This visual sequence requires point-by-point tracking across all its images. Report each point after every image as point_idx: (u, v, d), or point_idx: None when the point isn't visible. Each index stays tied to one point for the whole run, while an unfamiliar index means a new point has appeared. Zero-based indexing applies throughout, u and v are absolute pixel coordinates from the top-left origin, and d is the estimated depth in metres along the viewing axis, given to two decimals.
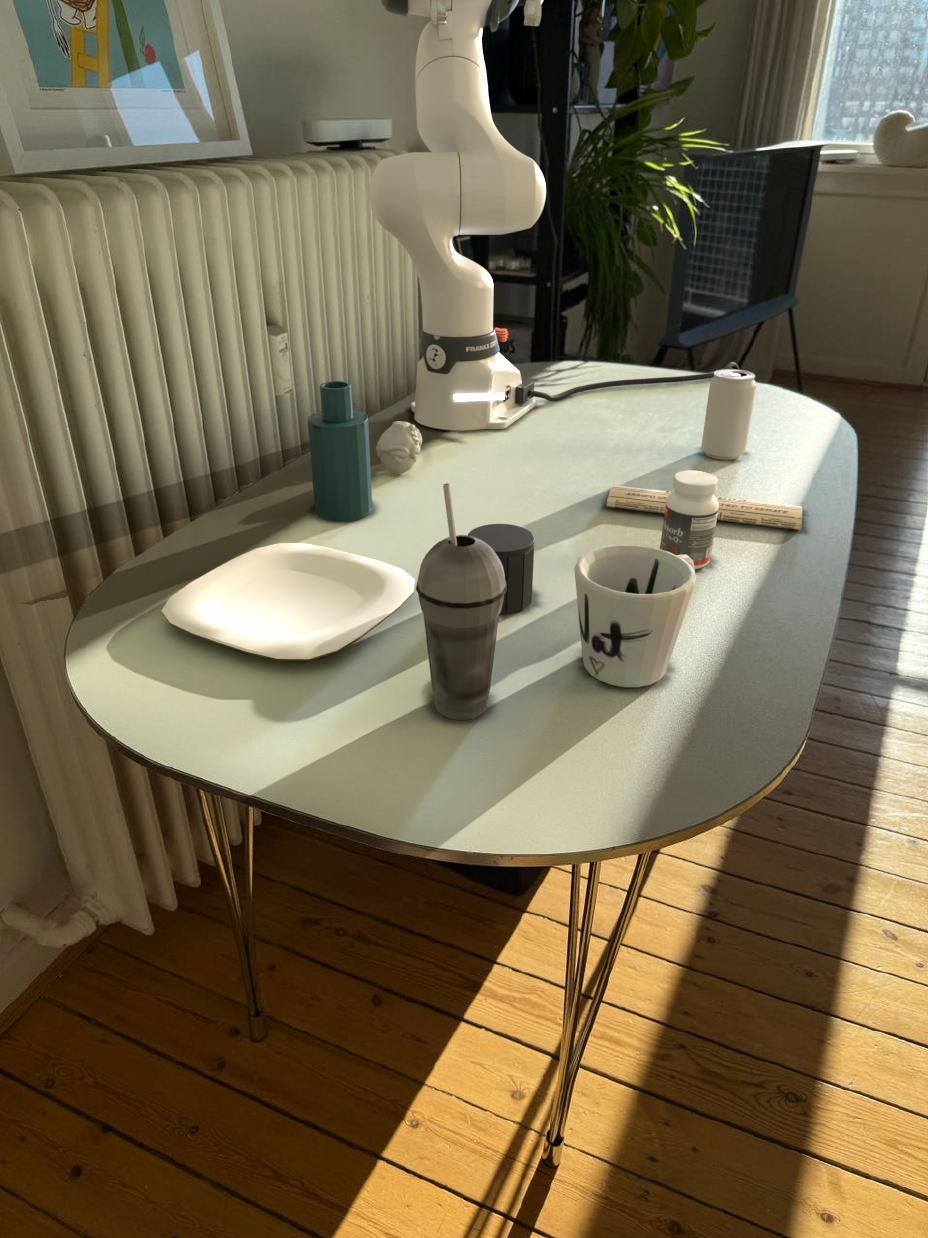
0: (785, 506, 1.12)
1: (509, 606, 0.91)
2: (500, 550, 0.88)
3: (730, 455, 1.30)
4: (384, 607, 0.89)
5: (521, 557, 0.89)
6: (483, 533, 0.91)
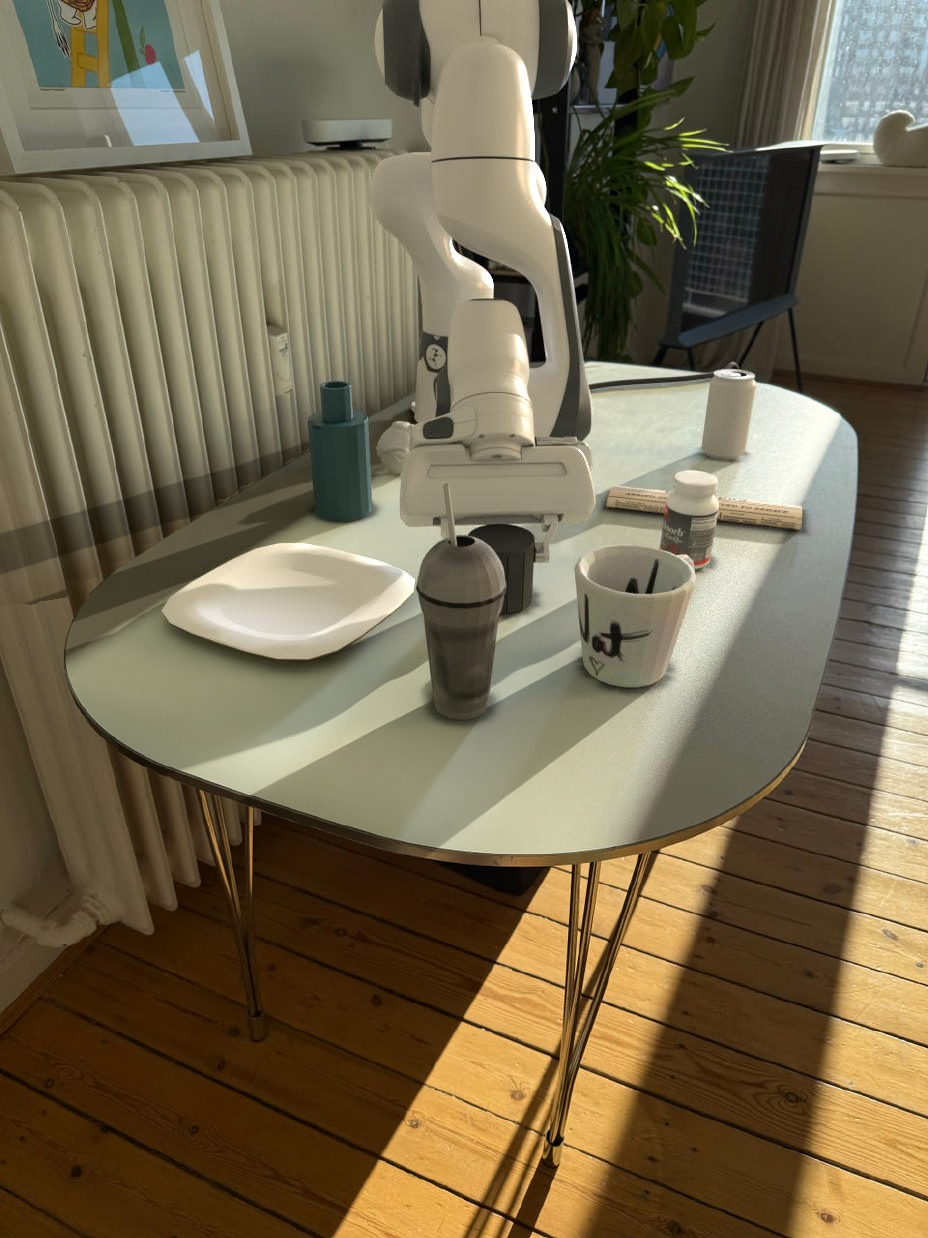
0: (785, 506, 1.12)
1: (509, 606, 0.91)
2: (500, 550, 0.88)
3: (730, 455, 1.30)
4: (384, 608, 0.89)
5: (521, 557, 0.89)
6: (483, 533, 0.91)
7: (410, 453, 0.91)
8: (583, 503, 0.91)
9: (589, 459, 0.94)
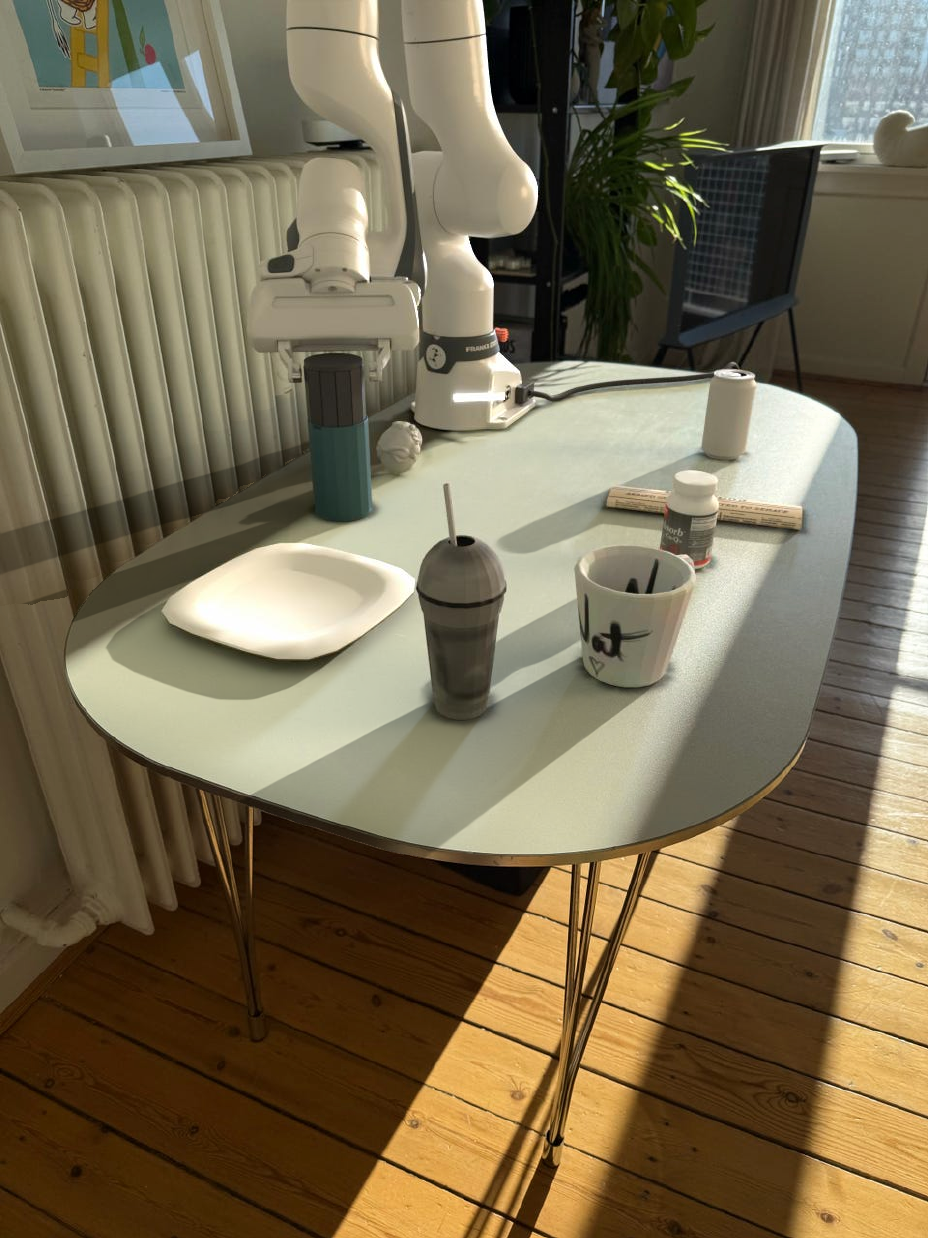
0: (785, 506, 1.12)
1: (340, 419, 1.05)
2: (328, 366, 1.02)
3: (730, 455, 1.30)
4: (384, 608, 0.89)
5: (347, 373, 1.03)
6: (319, 357, 1.06)
7: (257, 285, 1.05)
8: (407, 328, 1.06)
9: (417, 295, 1.09)
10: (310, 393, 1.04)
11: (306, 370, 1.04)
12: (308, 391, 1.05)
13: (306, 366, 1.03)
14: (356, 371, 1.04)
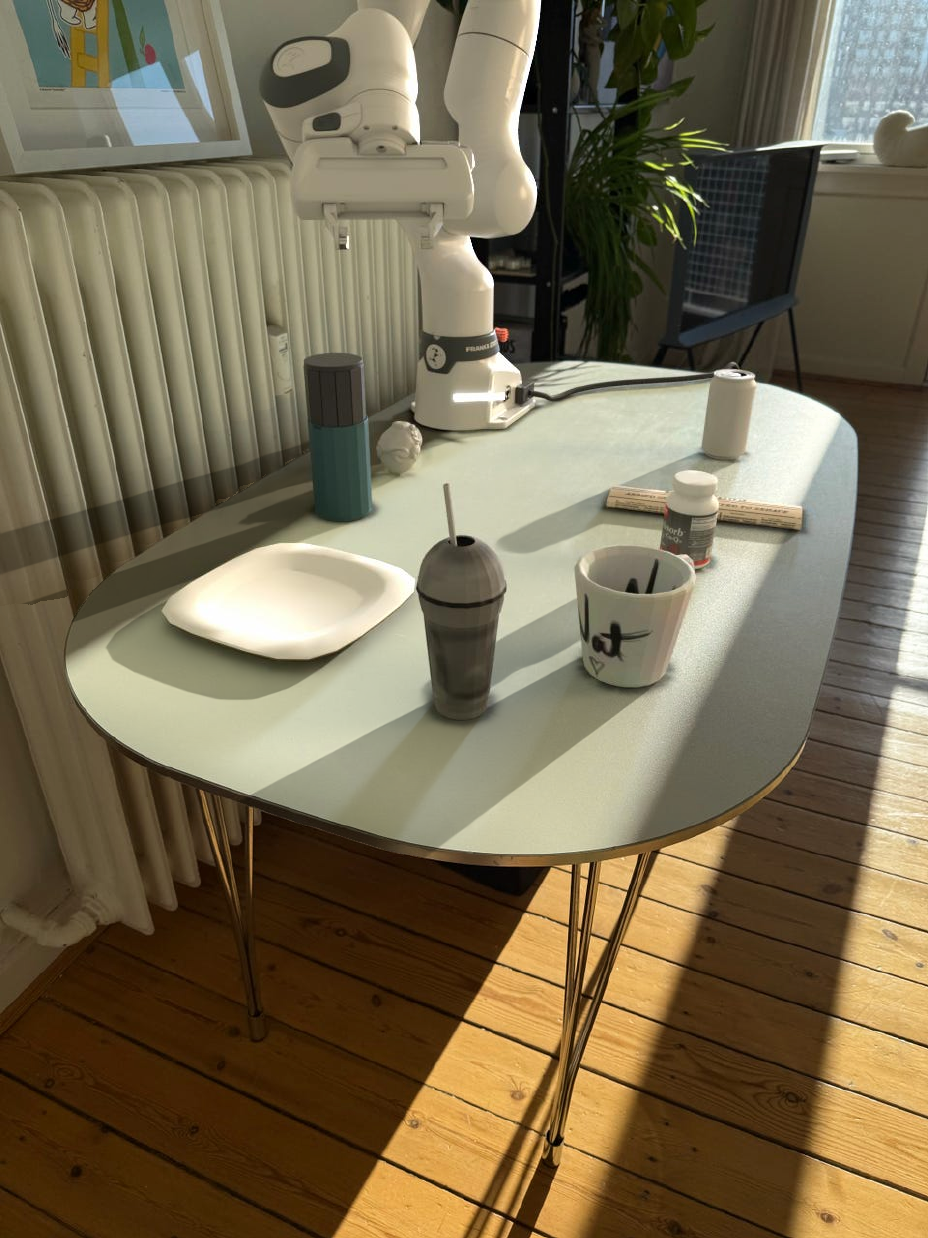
0: (785, 506, 1.12)
1: (340, 419, 1.05)
2: (328, 366, 1.02)
3: (730, 455, 1.30)
4: (384, 608, 0.89)
5: (347, 373, 1.03)
6: (319, 357, 1.06)
7: (301, 145, 0.99)
8: (461, 191, 0.99)
9: (470, 160, 1.02)
10: (310, 393, 1.04)
11: (306, 370, 1.04)
12: (308, 391, 1.05)
13: (306, 366, 1.03)
14: (356, 371, 1.04)
